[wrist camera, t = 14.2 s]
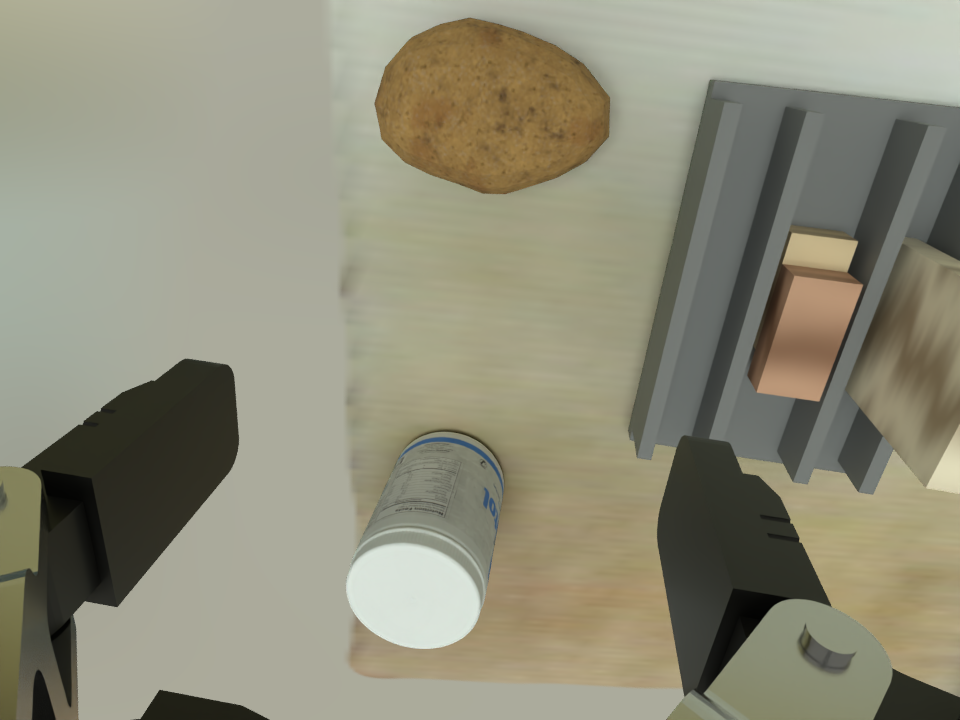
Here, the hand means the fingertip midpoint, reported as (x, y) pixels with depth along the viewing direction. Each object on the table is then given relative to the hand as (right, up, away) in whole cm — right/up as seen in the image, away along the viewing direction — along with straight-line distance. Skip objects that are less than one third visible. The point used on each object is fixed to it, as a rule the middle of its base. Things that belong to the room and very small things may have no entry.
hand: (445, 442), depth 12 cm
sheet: (+27, +5, +32) cm, 42 cm away
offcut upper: (+21, +4, +31) cm, 38 cm away
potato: (+2, +18, +32) cm, 37 cm away
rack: (+22, +6, +34) cm, 41 cm away
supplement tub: (-2, -8, +45) cm, 45 cm away
